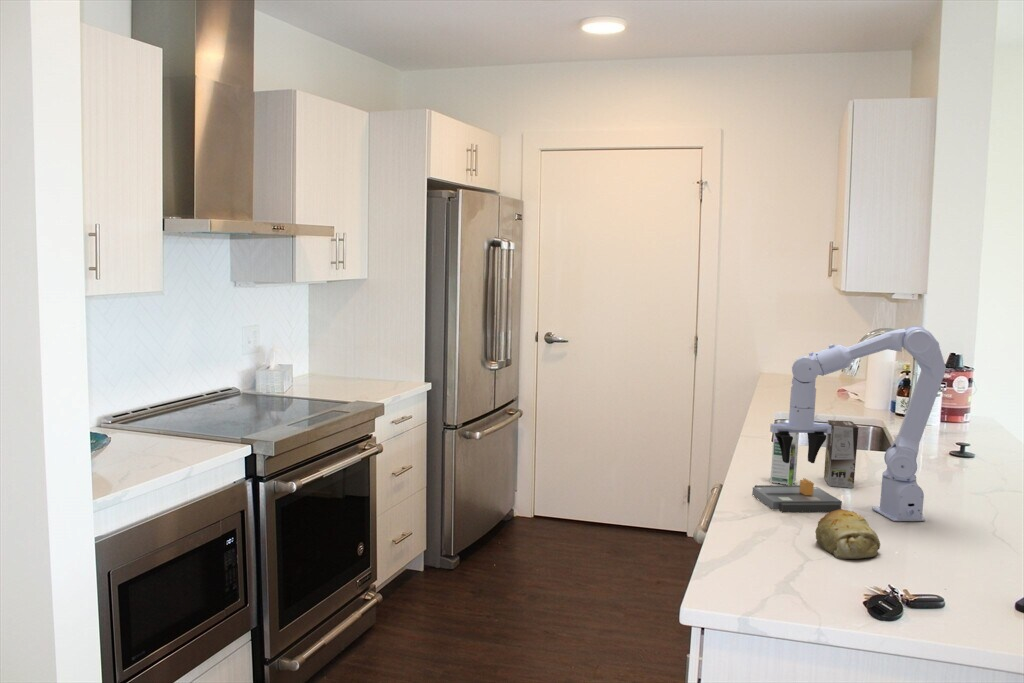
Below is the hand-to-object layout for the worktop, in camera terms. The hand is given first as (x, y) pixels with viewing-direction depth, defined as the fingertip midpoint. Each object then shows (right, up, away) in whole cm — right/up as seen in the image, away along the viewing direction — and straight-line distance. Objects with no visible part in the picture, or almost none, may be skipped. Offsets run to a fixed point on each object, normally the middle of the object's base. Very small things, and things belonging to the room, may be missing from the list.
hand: (798, 462), depth 206 cm
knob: (+2, -8, +1) cm, 8 cm away
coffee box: (+17, -9, +20) cm, 28 cm away
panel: (0, -10, +1) cm, 10 cm away
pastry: (-1, -14, -31) cm, 34 cm away
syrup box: (+2, -8, +19) cm, 21 cm away
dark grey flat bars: (0, -10, +1) cm, 10 cm away
